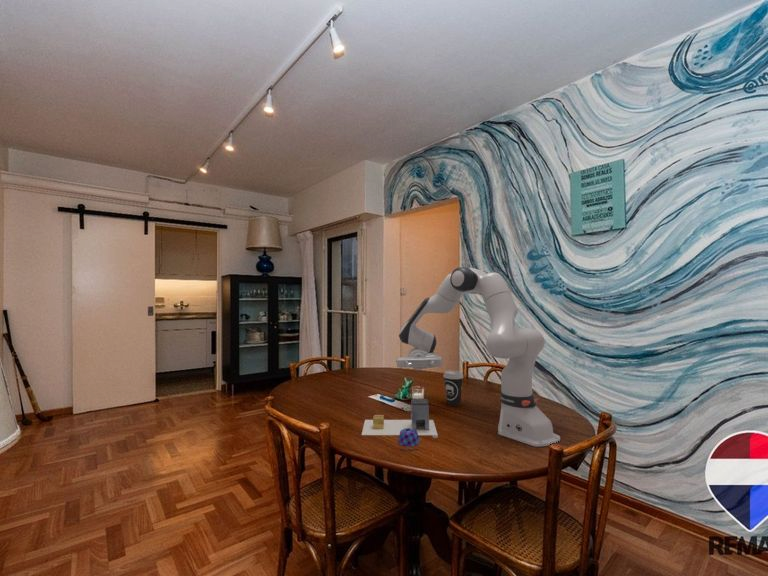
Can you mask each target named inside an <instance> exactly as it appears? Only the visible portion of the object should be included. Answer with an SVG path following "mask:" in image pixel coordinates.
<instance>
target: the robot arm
mask: <svg viewBox="0 0 768 576" xmlns="http://www.w3.org/2000/svg"><path fill="white" fill-rule="evenodd" d="M464 293H467V294H471V295H481V297H482V299H483V301H484V302H483V303H484V305H485V307H486V310H487V312H488V316H489V320H490V332H489V334H488V336H487V338H486V344H485V345H486V349H487V351H488V352H487V353H489V355H491V356H492V357H494V358H498V359H502V360H504V359H505V360H508V361H507V363H506V365H505V367H504V368H502V370H501V374H500V375H501V378H500V379H501V382H500V383H501V390H500V394H499V398H500V400H499V401H500V402H501V403H500V404H501V406H500V413H499V422H498V425H497V431H498V432H497V435H498V436H503V437H505V438H508V439H510V440H514V441H517V442H519V443H522V444H526V445H529V446H532V447H536V448H537V447H547V446H551V445H550V444H552V443H555V444H557V443H559V442H560V441H561V436H560V435H558V434H557V433H554V427H553V423H552V421H551V420H550V419H549V418H548V417H547V416H546V414H545V413H544V412H542V410H541V409H540V408H539V407H538V406H537V403H538V402H539V401H538V400H539V398H535V396H534V394H533V372H534V367H535V364H536V360H537V358H538V356H539V354H540V353H541V352H542V350H544V348H545V343H546V342H545V338H544V335H543V333H542V332H540V331H539V330H537V329H535V328H531V327H519V328H518V327H516V324H515V317H516V316H517V315H518V313H519V310H518V307H517V304H516V301H515V298H514V297H513V294H512V292H511V289H510V288H509V286H508V283H506V280H505V278H504V277H503V276H502V275H501V274H500V273H498V272H487V271H484V270H481V269H477V268H474V267H466V266H460V267H457V268H454V269H453V271H452V272H451V273H449V274H447V275H446V277H444V279H443V280H442V282H441V283H440V284H439V287H438V289H437V290H436V292H435V293H434V294H433V295H432V296H430V297H425V298H424V299H423V301H422V302H421V303H420V304H419V306H418V307H417V308H416V309H415V311H414V312H413V313H412V314H411V316H410V317H409V319H408V320H407V321H406V323H404V325H403V326H402V327H401V328H400V330H399V332H398V337H399V340H400V341H401V343H403V344H406V345H408V346H411V347H413V348H411V349H410V350H409V352H408V354H407V356H403V357H398V358H397V359H396V360H395V362H396V367H397V368H412V369H413V370H415V371H416V370H417V371H421V370H424V369H429V368H442V367H443V358H442V357H441V355H438V354H437V352H434V351H435V350H436V347H437V337H436V335H435V334H434V333H431V332H429V331H428V330H425V329H423V328H421V327H419V326H417V324H418V322H419V321H420V320H421V319H422V317H424V316H425V315H426V314H431V313H432V314H448V313H451V312H453V311H454V310H455V308H456V306H458V303H459V301H460V300H461V297H463V295H464ZM558 441H559V442H558ZM556 442H557V443H556ZM552 445H553V444H552Z"/></svg>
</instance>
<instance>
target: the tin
mask: <svg viewBox="0 0 768 576" xmlns="http://www.w3.org/2000/svg"><path fill="white" fill-rule="evenodd" d="M410 401H411V402H410V407H411V410H410V413H411V414H410V415H411V417H410V420H411V424H412V429H415V430H416V424H425V430H429V420H430V403H429V401H428V398H411V399H410Z"/></svg>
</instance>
